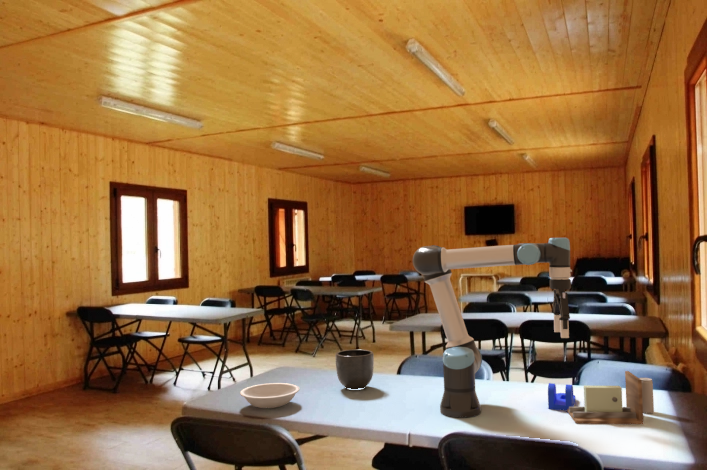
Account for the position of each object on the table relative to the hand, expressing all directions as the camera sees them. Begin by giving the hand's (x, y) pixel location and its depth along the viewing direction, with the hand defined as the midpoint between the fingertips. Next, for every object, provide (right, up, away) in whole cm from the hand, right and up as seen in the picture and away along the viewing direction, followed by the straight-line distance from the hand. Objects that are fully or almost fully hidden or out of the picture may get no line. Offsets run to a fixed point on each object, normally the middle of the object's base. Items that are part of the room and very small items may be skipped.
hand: (561, 334), depth 216 cm
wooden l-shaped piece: (+11, -27, -12) cm, 32 cm away
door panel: (+11, -26, -12) cm, 31 cm away
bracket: (+3, -28, +7) cm, 29 cm away
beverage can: (+28, -27, -7) cm, 40 cm away
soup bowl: (-112, -32, +17) cm, 118 cm away
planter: (-77, -31, +41) cm, 93 cm away
